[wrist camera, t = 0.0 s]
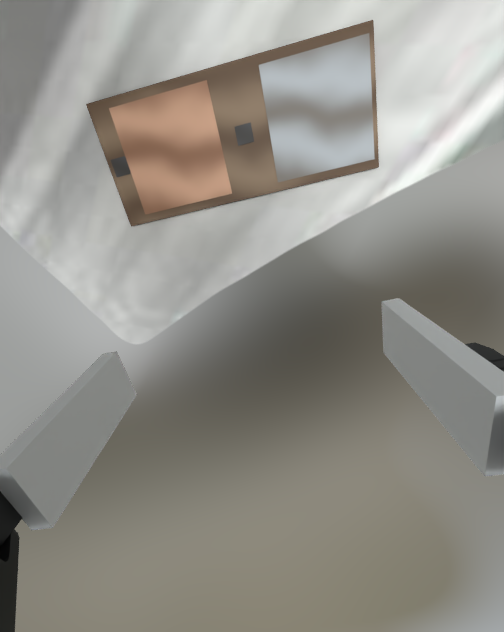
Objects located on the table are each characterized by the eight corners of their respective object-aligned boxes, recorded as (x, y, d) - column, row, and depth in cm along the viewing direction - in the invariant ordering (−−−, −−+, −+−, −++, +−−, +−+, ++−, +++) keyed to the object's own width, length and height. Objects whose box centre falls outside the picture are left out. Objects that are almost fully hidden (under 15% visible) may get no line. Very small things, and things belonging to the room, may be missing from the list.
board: (89, 105, 33) (85, 104, 32) (371, 23, 29) (373, 19, 29) (132, 225, 38) (130, 226, 37) (376, 167, 35) (379, 166, 34)
